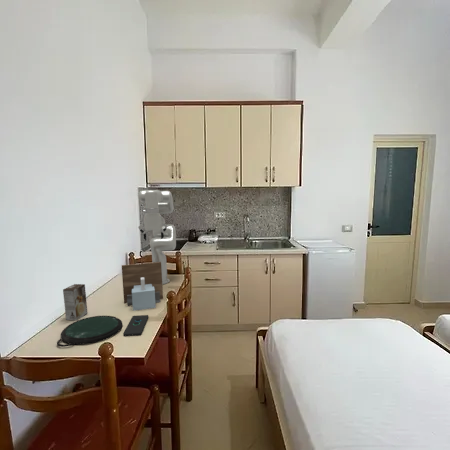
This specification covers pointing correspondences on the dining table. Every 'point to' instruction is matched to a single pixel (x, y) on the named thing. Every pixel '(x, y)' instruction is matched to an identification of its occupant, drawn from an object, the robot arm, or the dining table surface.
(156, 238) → the robot arm
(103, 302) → the dining table surface
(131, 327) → the smart home device
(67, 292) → the coffee box
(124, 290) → the wall board
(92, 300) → the dining table surface
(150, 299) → the block with top knob
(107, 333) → the dark green flat disc
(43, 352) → the dining table surface
